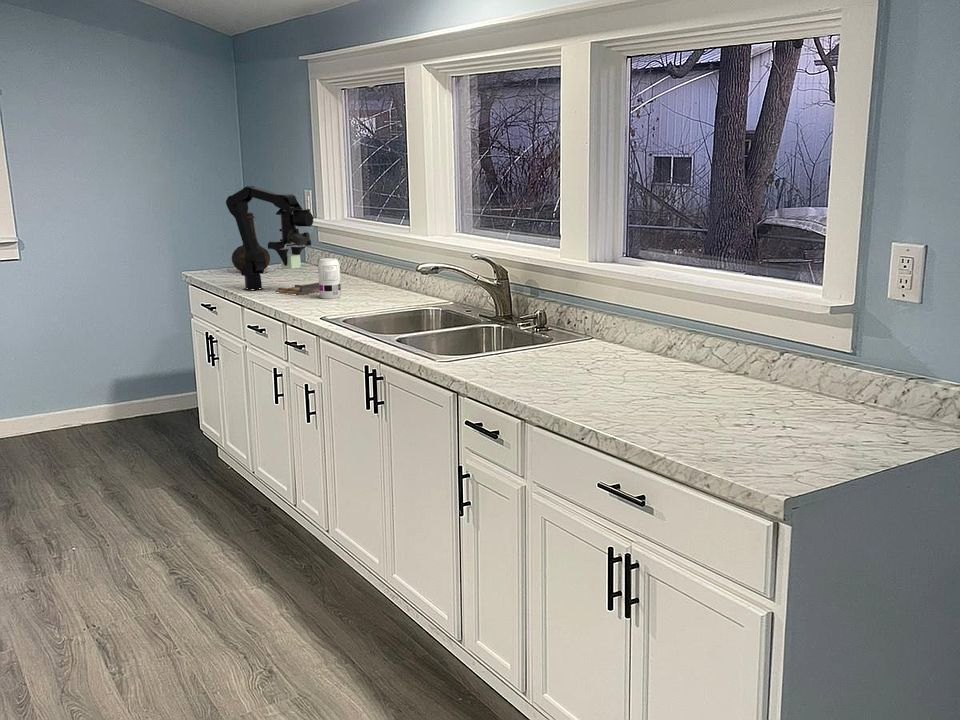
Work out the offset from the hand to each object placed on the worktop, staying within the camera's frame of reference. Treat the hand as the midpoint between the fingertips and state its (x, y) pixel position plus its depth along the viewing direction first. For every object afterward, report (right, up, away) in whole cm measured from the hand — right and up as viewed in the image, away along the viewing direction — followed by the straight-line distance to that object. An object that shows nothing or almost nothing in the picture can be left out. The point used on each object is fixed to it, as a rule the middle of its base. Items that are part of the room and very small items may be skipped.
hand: (290, 264), depth 384 cm
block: (0, -1, 0) cm, 1 cm away
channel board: (+3, -11, +1) cm, 12 cm away
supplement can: (+18, -14, -14) cm, 27 cm away
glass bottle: (-32, +3, +67) cm, 74 cm away
